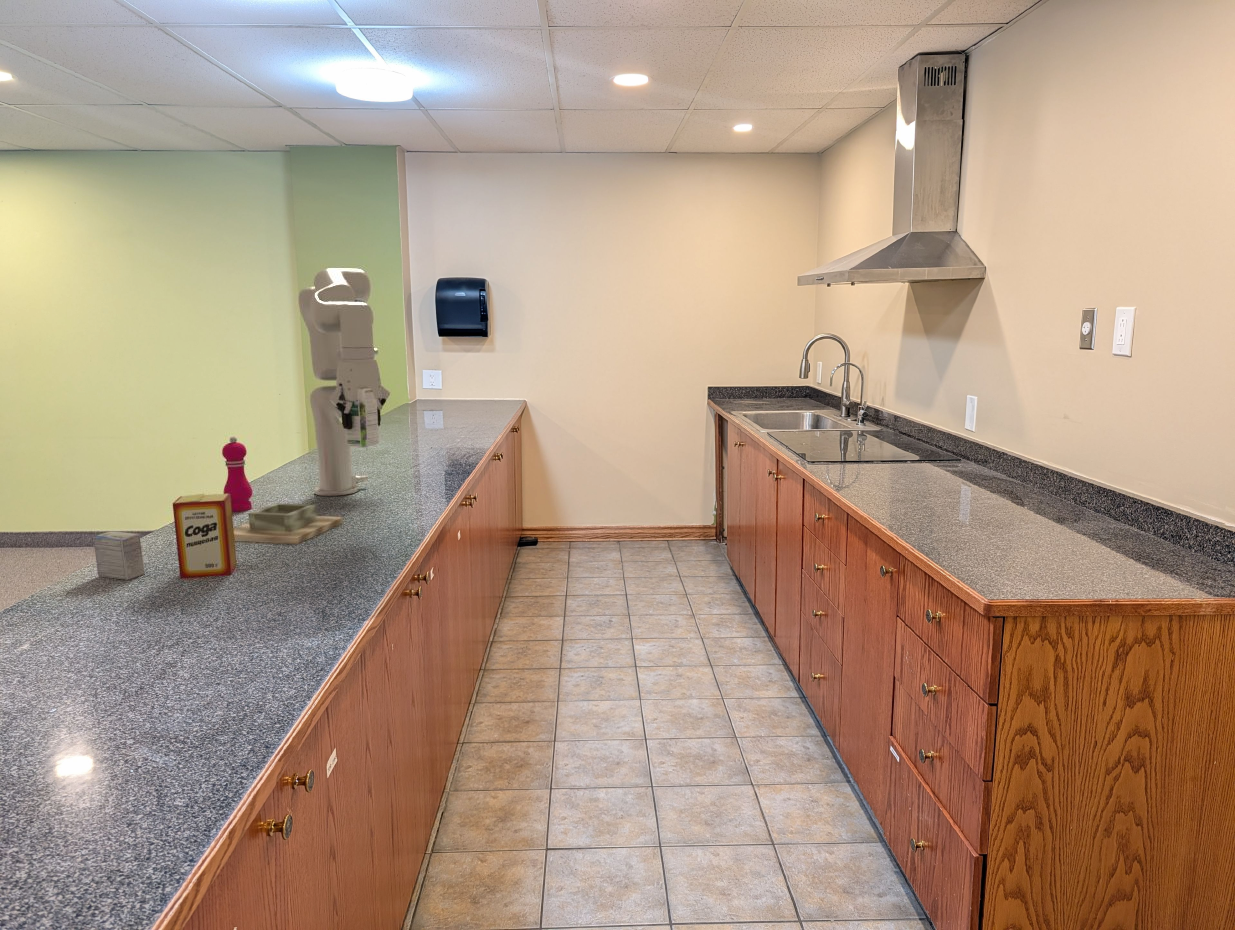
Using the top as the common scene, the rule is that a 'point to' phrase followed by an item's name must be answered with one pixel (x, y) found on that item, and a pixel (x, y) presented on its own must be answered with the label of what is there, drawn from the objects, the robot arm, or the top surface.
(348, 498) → the top surface
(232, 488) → the pepper mill
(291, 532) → the socket board
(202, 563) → the baking soda box
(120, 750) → the top surface
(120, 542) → the medicine box
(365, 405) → the syrup box
